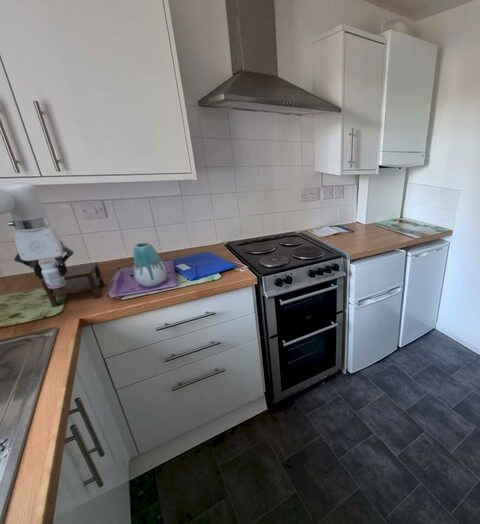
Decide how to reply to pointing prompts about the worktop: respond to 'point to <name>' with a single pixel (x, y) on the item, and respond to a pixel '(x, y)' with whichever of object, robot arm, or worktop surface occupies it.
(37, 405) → the worktop surface
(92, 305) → the worktop surface
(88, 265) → the shelf
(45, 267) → the pill bottle
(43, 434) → the worktop surface
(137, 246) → the vase
